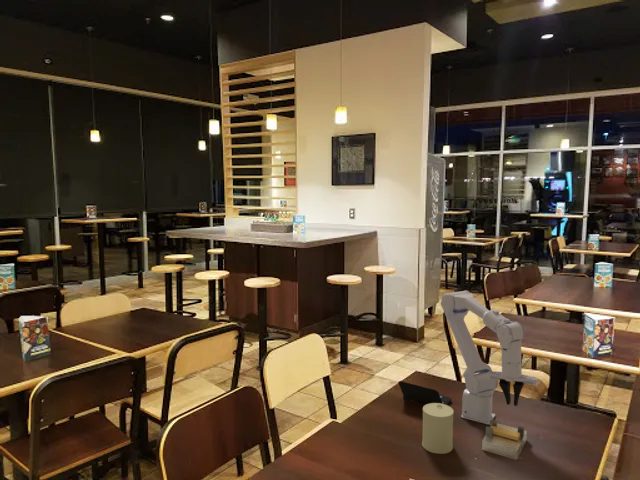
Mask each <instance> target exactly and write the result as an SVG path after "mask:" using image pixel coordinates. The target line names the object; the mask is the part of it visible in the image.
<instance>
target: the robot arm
mask: <svg viewBox="0 0 640 480" xmlns="http://www.w3.org/2000/svg"><path fill="white" fill-rule="evenodd" d="M440 301H441V302H440V306H441V308H442V310H443V313H444V315H445V317H446V321H447V322H448V325H449V327H450V330H451V332H452V334H453V337H454V339H455V342H456V344H457V346H458V349H459V351H460V354H461V356H462V358H463V361H464V363H465V365H466V368H465V370H464V371H463V375H462V376H463V378H464V382H465V384H464V385H465V387H466V388H465V389H464V390H463V393H462V399H461V414H460V415H461V418H462V419H466V420H470V421H473V422H477V423H481V424H484V425H489V426H490V420H494V418H495V417H496V414H495V413H493V394H494V393H495V390H496V389H498V387H500V389H501V390H502V393H503V395H504V397H505V401H506V405H508V406H509V405H510V404H511V383H513V385H512V389H513V406H515V407H517V406H518V405H519V398H520V395H521V393H522V390H523V387H524V386H525V384H526V385H532V386H534V387H537V386H538V385H539V384H538V378H537V377H534V376H533V377H532V376H530V375H529V376H528V375H525V374H522V373H523V372H522V340H524V339H525V337H526V330H525V327H524V326H523V324H522V323H520V322H519V321H511V319H509V318H508V317H507V318H506V317H505V316H504V315H502V314H501V313H500V311H499V310H497V309H496V310H495V309H490V310H489V309H488V308H487V307H485V306H484V305H483V304H482V303H480V302H479V301H478V300H477V299H475V296H474V294H473V293H471V292H470V291H469V290H466V289H465V290H463V291H462V290H461V291H455V292H444V293H443V295H442V297H441V300H440ZM469 312H470V313H473V314H474V315H475V316H477V317H479V318H480V319H482V323H483V325H484V326H486V327H487V328H488V329H489V330H491V331H493V332H494V333H495V334H496V336H497V339H498V341H499V345H500V347H501V371H493V370H492V367H491V366H490V365H489V364H488V363H485V362H484V361H483V360H482V358H481V356H480V354H479V351H478V349H477V347H476V345H475V344H476V343H474V340H473V338H472V336H471V333H470V330H469V329H468V326H467V324H466V322H465V317H466V316H467V315H468V313H469Z"/></svg>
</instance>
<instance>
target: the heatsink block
mask: <svg viewBox="0 0 640 480" xmlns="http://www.w3.org/2000/svg"><path fill="white" fill-rule="evenodd" d="M491 426H495V427H499V428H503V429H507V430H510V431H514V432H518V427H517V428H516V427H513V426H509V425H506V424H502V423H498V420H497V421H496V420H494V419H493V420H490V424H489V426H487V425H486V427H485V434H484V437H483V439H482V440H481V450H482V451H484V452H488V453H491V454H495V455H497V456H498V455H499V456H502V457H504V458H508V459H512V460H515V461H517V460H518V459H519V457H520V455H521V453H522V451H523V448H524V446H525V444H526V442H527V439H528V438H527V436H528V435H527V434H528V433H527V432H528V431H527V430H525V429H524V436H523V437H521V436H520V437H519V439H518V441H517V440H514V439H510V438H506V437H503V436H499V435H495V434H493V428H491Z"/></svg>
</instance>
